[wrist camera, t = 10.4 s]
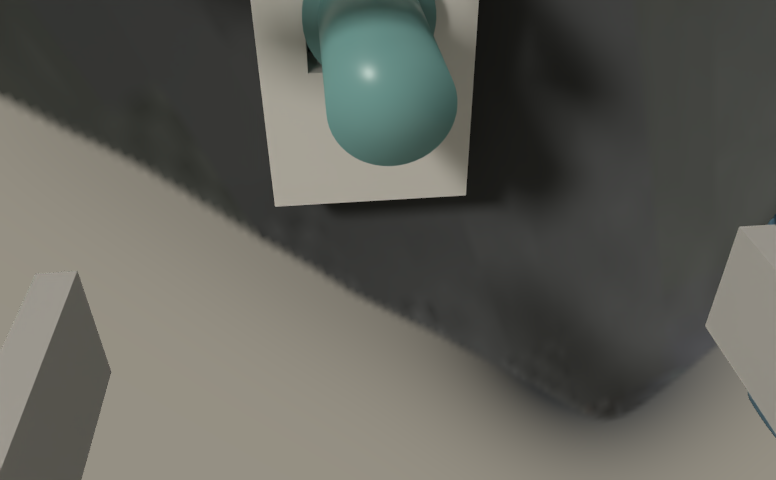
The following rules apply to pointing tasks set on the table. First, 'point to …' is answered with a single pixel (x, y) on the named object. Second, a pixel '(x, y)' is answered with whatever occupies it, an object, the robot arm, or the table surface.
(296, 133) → the grey block with rod
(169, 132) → the table surface
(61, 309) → the robot arm
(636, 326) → the table surface
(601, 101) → the table surface
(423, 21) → the plug
